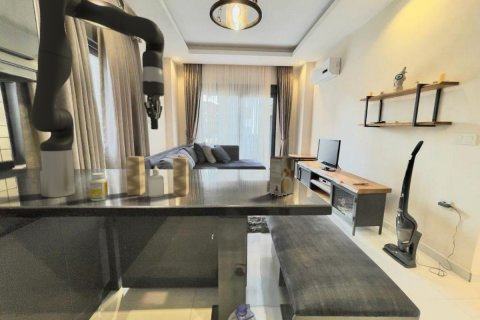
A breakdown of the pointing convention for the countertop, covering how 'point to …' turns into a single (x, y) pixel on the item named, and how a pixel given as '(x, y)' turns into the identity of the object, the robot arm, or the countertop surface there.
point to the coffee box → (282, 175)
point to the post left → (135, 175)
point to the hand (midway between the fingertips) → (154, 129)
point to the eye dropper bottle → (156, 184)
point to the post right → (180, 176)
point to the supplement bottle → (98, 187)
